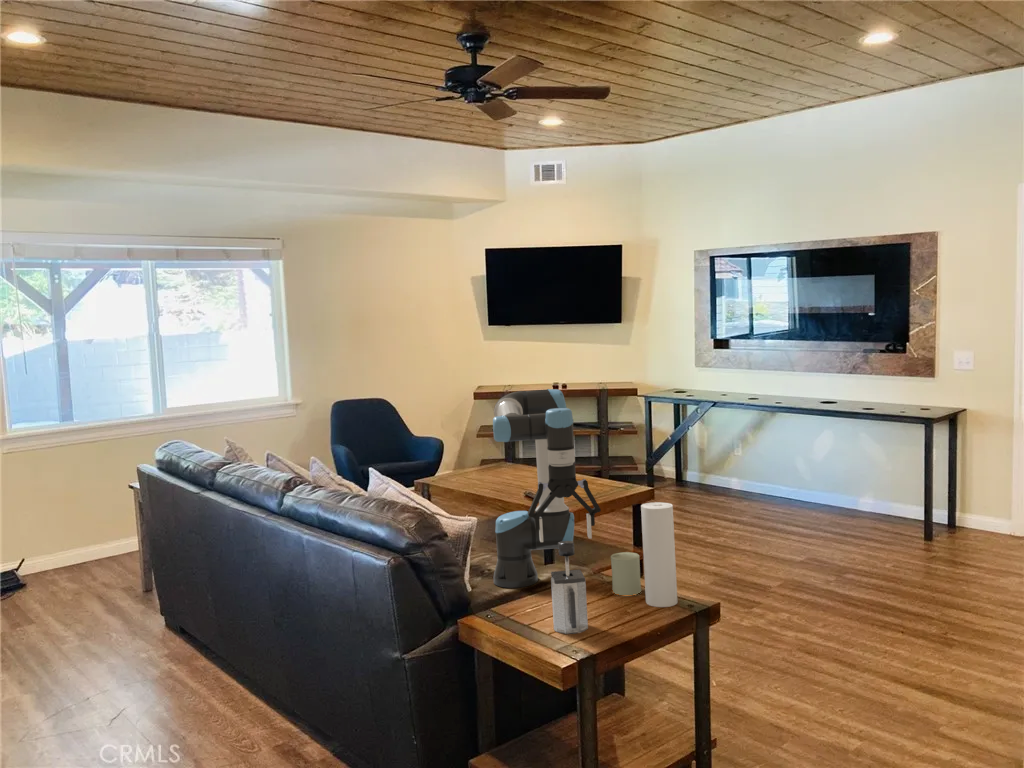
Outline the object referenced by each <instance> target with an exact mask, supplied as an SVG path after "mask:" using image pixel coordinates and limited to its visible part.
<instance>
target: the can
mask: <svg viewBox="0 0 1024 768" xmlns="http://www.w3.org/2000/svg"><path fill="white" fill-rule="evenodd" d="M640 556H641V555H639V554H638V553H636V552H629V551H625V552H616V553H613V554H611V555H610V561H611V563H610V564H611V565H610V566H611V577H612V578H611V581H612V583H611V585H612V590H613V592H614V593H615V594H619V595H633V594H638V593H640V592H641V591H642V584H641V567H640V566H641V565H640V564H641V563H640ZM613 592H612V593H613ZM641 593H642V592H641ZM641 593H640V594H641ZM615 594H614V595H615ZM638 595H639V594H638Z"/></svg>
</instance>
